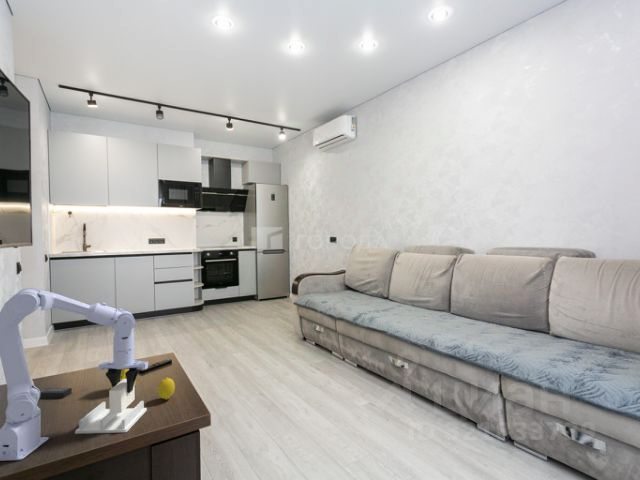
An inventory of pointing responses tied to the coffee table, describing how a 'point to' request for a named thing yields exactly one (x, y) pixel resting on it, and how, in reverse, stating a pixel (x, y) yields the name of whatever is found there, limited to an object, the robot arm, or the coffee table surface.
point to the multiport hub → (55, 392)
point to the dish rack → (110, 419)
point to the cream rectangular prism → (120, 397)
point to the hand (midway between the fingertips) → (123, 391)
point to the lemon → (166, 388)
